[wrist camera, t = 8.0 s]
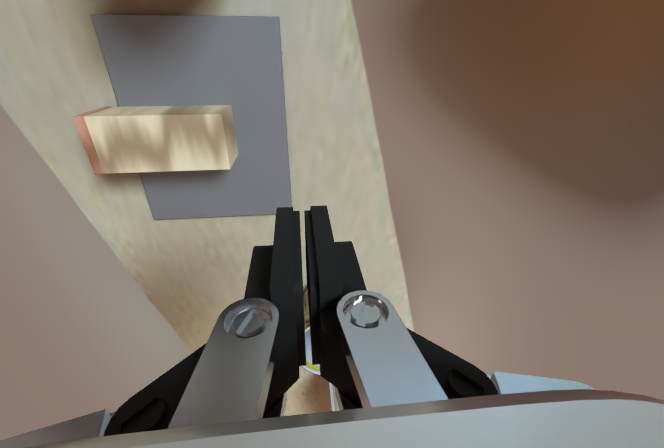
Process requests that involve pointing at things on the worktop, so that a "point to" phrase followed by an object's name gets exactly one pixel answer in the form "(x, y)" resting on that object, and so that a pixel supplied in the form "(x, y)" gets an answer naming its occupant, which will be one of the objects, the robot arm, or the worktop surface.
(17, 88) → the worktop surface
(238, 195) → the rubber mat
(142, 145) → the maple block
